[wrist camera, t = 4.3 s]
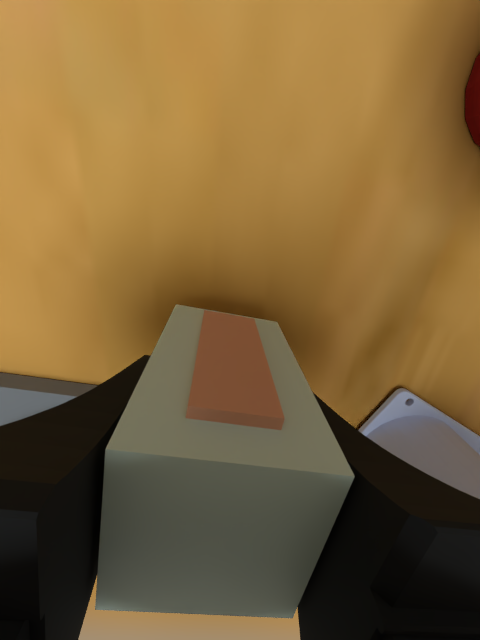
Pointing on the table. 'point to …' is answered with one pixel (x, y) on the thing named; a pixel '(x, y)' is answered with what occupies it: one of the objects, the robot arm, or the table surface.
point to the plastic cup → (473, 102)
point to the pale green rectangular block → (218, 476)
